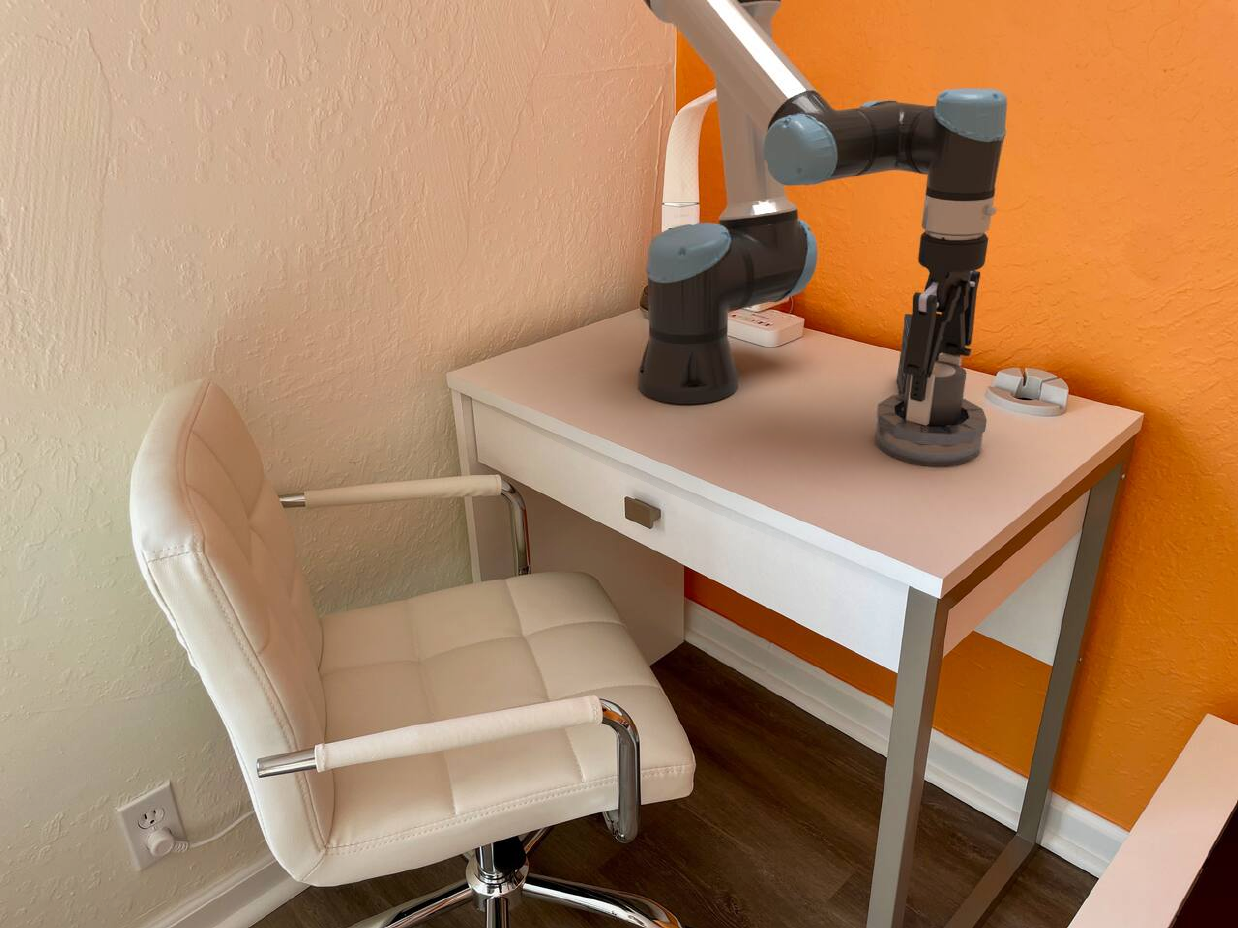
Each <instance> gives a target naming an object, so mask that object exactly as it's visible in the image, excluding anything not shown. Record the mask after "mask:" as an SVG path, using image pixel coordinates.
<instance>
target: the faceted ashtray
mask: <svg viewBox="0 0 1238 928" xmlns="http://www.w3.org/2000/svg"><path fill="white" fill-rule="evenodd" d="M904 400H905V393H904V394H899V393H898V394H894V395H893V394H892V395H890V396H888V397H886V398H885V399H884V400H882V401H881V402H879V403H878V404H877V412H876V413H877V414H876V417H877V421H876V422H877V423H876V432H875V444H876V446H877V448H878V449H879V450H880V451H881V452H883V453H884V454H885V455H887V456H889V457H891V458H892V459H893V458H894V459H896V460H898V461H901V462H904V463H909V464H913V465H917V466H922V467H937V468H939V467H941V468H942V467H953V466H954V467H955V466H958V465H963V464H966V463H969V462H971V461H973V460H974V459H976V458H977V457H978V456H979V454H980V452H981V445H982V440H983V434H984V433H985V431H986V428H987V418H986V414H985V411H984V409H983V408H982V407H980V406H978V405H976V404H974V403H973V402H971V401H969V400H968V399H966V398H963V403H962V410H961V418H960V420H959V421H958V422H956V423H954V424H952V425H947V426H925V425H921V424H917V423H914V422H911V421H907V420H906V417H905V416H904V414H903V410H904Z"/></svg>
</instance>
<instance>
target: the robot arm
mask: <svg viewBox="0 0 1238 928" xmlns="http://www.w3.org/2000/svg"><path fill="white" fill-rule="evenodd" d="M643 1H644V3H645V4H646V6H647V8H648V9H649V10H650V11H651V12H652V13H653V14H654V16H655V17H656V18H657V19H658V20H659V21H662V23H666V24H673V26H674V27H675V28H676V30H678V32H679V33H680V34H681V35H682V37H683V38H684V39H685V41H686V42H688V44H689V45H690V46H691V48H692V49H693V50H694V51H695V53H696V54H697V55H698V56H699V58H700V59H701V60H702V61H703V62H704V63H705V65H707V67H708V68H709V69H710V70H711V72H712V73H713V75H714V83H715V93H716V94H715V95H716V104H717V113H718V121H719V123H718V124H719V132H720V141H721V153H722V161H723V173H724V184H725V192H726V203H727V204H726V207H725V208H724V210H723V211H722V212H721V214H720V215H719V216H718V223H719V224H718V223H713V222H697V223H695V224H691V223H687V224H686V223H685V224H682V225H678V226H674V227H671V228H668V229H666V230H663V231H661V232H659V234H657V235H655V236H654V237H653V239H652V240H651V242H650V243H649V246H648V248H647V249H648V250H647V264H646V269H645V270H646V275H647V296H648V297H647V301H648V340H647V343H646V347H645V350H644V353H643V356H642V359H641V363H640V366H639V370H638V374H637V375H638V376H637V377H638V379H637V380H638V381H637V382H638V389H639V391H640V392H641V393H642V394H644V396H646V397H648V398H650V399H653V400H656V401H659V402H663V403H669V404H673V405H674V404H677V405H700V404H706V403H712V402H717V401H720V400H723V399H725V398H728V397H729V396H732V395H733V394H734V393H735V392H736V391H737V390H738V387H739V370H738V367H737V364H736V363H735V358H734V354H733V351H732V347H731V345H730V341H729V338H728V330H729V329H728V324H729V323H728V320H729V313H730V312H734V311H738V310H742V309H743V310H744V309H746V308H750V307H754V306H758V305H762V304H767V303H778V302H780V301H783V300H785V299H786V298H790V297H793V296H795V295H797V294H799V293H800V292H802V291H803V290H804V289H805V288H807V285H808V284H809V282H811V280H812V278H813V276H814V274H815V271H816V268H817V264H818V244H817V239H816V236H815V233H814V232H812V231H811V227H810V226H809V224H808V223H806V222H805V221H804V220H801V219H800V218H799V215H798V214H799V212H798V206H797V205H795V204H794V203H793V202H792V201H791V200H789V199H788V197H787V196H786V195H787V194H786V186H788V187H789V186H790V187H792V186H810V185H811V186H813V185H819V184H822V183H824V182H825V183H826V182H829V181H835V180H840V179H845V178H850V177H852V178H853V177H860V176H865V175H866V176H867V175H873V174H877V173H884V172H890V171H902V172H909V173H915V174H920V175H927V177H926V188H925V195H924V202H923V211H922V218H921V219H922V220H921V228H922V229H923V230H924V232H923V233H922V234H921V235H920V239H919V245H918V246H919V247H918V257H917V260H918V261H917V263H919V265H920V266H922V267H923V268H925V269H927V271H928V272H929V274H928V278H927V281H926V284H925V287H924V291H923V293H922V292H917V291H916V292H914V294H913V296H912V319H911V325H910V331H909V337H908V343H907V349H906V355H905V361H904V367H903V372H904V373H907V374H911V383H910V391H909V399H908V408H907V416H906V420H907V421H911V422H914V423H918V424H922V425H925V426H927V425H928V424H929V420H930V412H931V405H932V397H933V390H934V382H935V375H933V374H932V371H933V368H934V364H935V361H936V357H937V353H938V350H939V346H940V342H941V339H942V335H943V351H945V352H946V354H945V353H940V354H939V359H938V361H942V362H948V363H952V364H956V365H958V366H960V367H962V362H963V361H962V360H963V357H962V356H964V357H970V355H971V352H972V349H971V348H967V347H970V346H971V345H972V342H973V333H974V323H975V314H976V313H975V312H976V303H977V292H978V286H979V284H980V283H979V281H980V278H981V271H980V269H982V267H984V266H985V264H986V263H985V262H986V258H987V251H988V243H989V236H987V234H986V233H987V231H989V230H990V226H991V219H992V216H994V215H996V213H997V208H996V207H995V206H993V205H994V201H995V193H996V183H997V177H998V171H999V166H1000V161H1001V155H1002V150H1003V144H1004V141H1005V140H1004V139H1005V136H1006V134H1007V133H1006V132H1007V129H1006V120H1007V109H1008V108H1007V107H1008V99H1007V96H1006V95H1005V93H1003V91H1001V90H998V89H995V88H994V89H993V88H992V89H991V88H973V87H972V88H971V87H970V88H969V87H968V88H966V87H965V88H952V89H946V90H945V89H944V90H943V91H941V92H940V93H939V94H938V95H937V97H936V102H935V105H924V104H917V103H916V104H914V103H908V102H898V101H897V100H891V99H888V100H879V101H878V100H872V101H867V102H864V103H863V104H862V105H860V106H859V107H857V108H848V109H838V110H837V109H835V108H833V107H832V106H831V105H830V104H829V103H828V101H827V100H826V99H825V98H824V97H823V96H822V95H821V94H820V93H819V92H818V90H817V89H816V88H815V87H814V86H813V85H812V84H811V83H810V82H809V81H808V79H807V78H806V77H805V76H804V75H803V73H802V72H801V71H800V70H799V69H798V67H796V66H795V65H794V63H793V62H792V61H791V60H790V59H789V57H788V56H787V55H786V54H785V53H784V52H783V50H782V49H781V48H780V47H779V46H778V44H776V42H774V39H773V27H772V21H773V18H774V16H775V15H776V14H777V12H778V11H779V10H780V8H781V6H782V2H781V0H643Z"/></svg>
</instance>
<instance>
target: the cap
mask: <svg viewBox="0 0 1238 928" xmlns="http://www.w3.org/2000/svg"><path fill="white" fill-rule="evenodd" d="M932 374H933V375H935V382H934V390H933V397H932V405H931V412H930V420H929V424H928V425H927V426H947V425H952V424H954V423H956V422H958V421H959V420H960V418H961V410H962V403H963V399H964V395H965V388H966V387H965V386H966V379H967V371H966V369H965V368H963V367H962V366H961V367H960V366H958V365H956V364H952V363H948V362H942V361H935V364H934V368H933V371H932ZM910 383H911V374H907V380H906V390H905V400H904V410H903V414H904V416H905V417H906V416H907V408H908V399H909V391H910ZM917 424H918V423H917ZM921 425H922V424H921Z"/></svg>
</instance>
